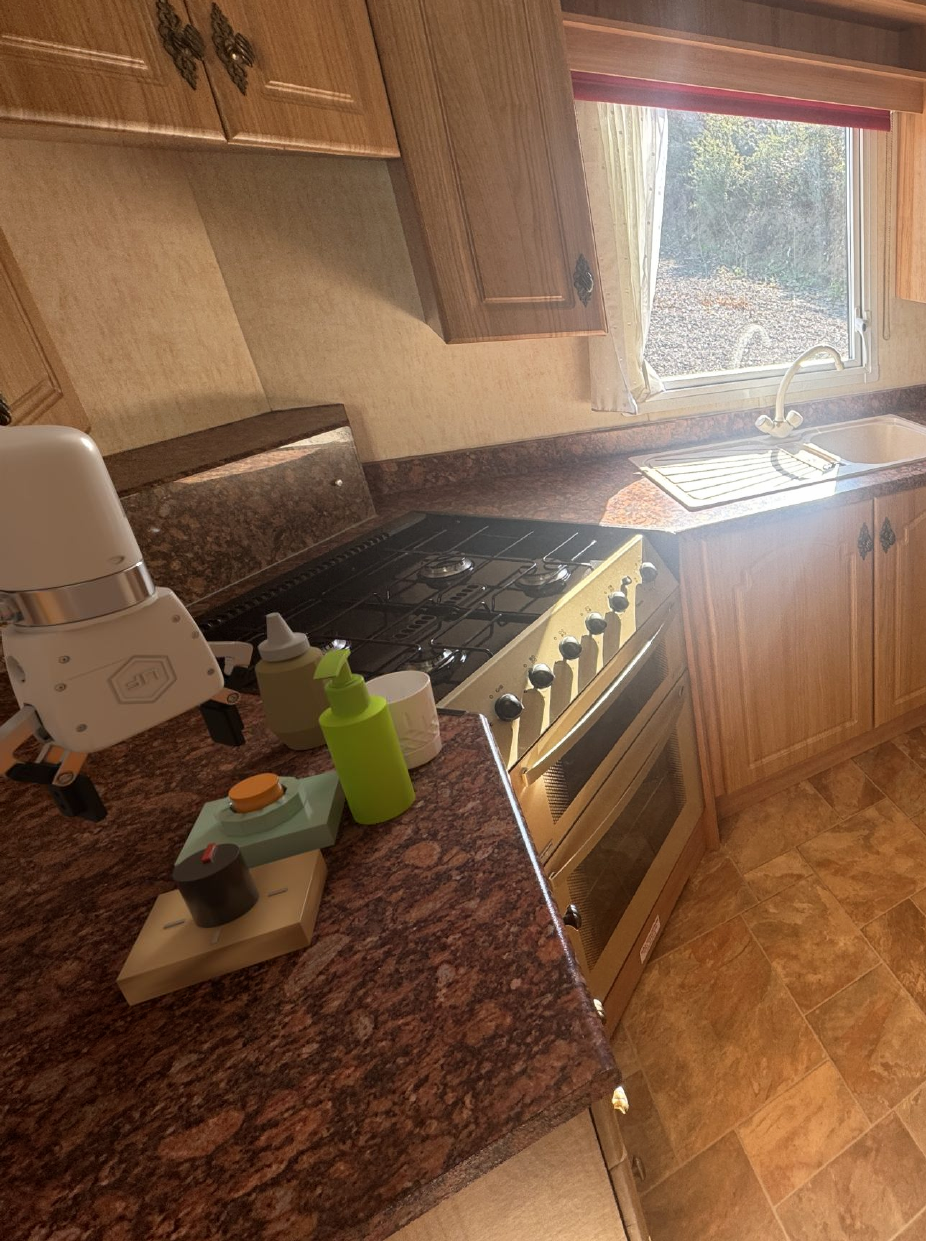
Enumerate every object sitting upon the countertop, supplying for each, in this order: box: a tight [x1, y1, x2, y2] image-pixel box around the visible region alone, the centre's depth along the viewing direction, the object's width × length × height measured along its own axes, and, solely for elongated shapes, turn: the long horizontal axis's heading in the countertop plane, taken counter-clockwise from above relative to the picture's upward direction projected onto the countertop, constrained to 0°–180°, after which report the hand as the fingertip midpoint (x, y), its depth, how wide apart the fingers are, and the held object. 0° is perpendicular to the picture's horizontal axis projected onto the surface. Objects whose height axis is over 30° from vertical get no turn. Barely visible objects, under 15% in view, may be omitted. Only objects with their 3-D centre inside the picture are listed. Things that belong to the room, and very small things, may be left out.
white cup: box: [365, 670, 443, 770], centre depth 89 cm, size 8×8×10 cm
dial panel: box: [115, 849, 329, 1007], centre depth 67 cm, size 12×10×3 cm
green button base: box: [173, 769, 346, 869], centre depth 77 cm, size 12×10×5 cm
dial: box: [171, 843, 259, 928], centre depth 65 cm, size 4×4×6 cm
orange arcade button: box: [227, 772, 284, 813], centre depth 76 cm, size 4×4×2 cm
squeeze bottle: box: [254, 612, 332, 751], centre depth 91 cm, size 8×8×18 cm
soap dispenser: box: [313, 647, 416, 825], centre depth 78 cm, size 6×7×20 cm
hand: (165, 777), depth 60 cm, fingers open, 9 cm apart
